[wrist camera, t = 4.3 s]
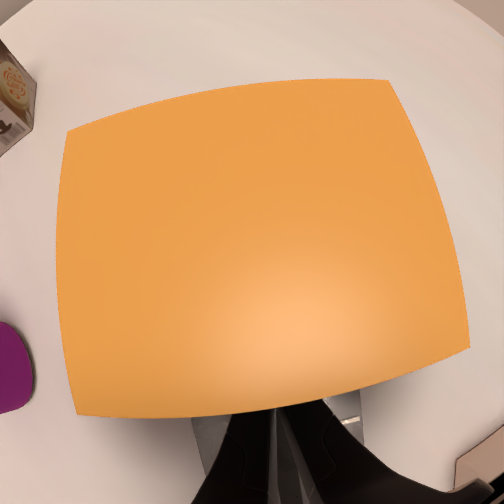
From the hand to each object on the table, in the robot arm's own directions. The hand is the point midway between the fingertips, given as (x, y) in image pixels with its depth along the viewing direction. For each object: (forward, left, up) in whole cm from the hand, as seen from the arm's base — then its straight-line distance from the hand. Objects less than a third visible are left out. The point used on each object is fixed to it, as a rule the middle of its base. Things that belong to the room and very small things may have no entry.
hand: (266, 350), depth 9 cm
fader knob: (+2, +2, -6) cm, 7 cm away
